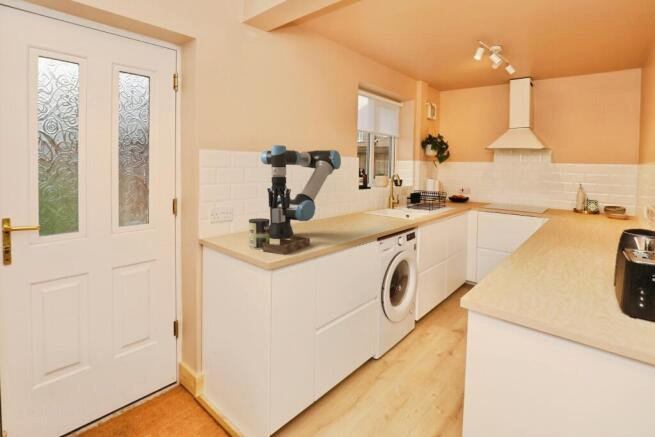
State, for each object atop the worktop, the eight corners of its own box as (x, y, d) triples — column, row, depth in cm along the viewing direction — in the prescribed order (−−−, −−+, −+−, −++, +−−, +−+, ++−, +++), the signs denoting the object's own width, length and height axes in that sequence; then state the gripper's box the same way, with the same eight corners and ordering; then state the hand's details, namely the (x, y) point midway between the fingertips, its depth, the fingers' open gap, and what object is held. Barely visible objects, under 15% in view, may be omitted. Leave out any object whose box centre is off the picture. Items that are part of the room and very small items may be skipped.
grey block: (279, 221, 194) (279, 208, 193) (285, 221, 192) (285, 208, 191) (272, 222, 188) (272, 208, 187) (278, 223, 186) (278, 209, 186)
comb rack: (290, 243, 195) (290, 235, 195) (309, 245, 190) (309, 238, 189) (263, 251, 175) (263, 243, 174) (283, 254, 169) (283, 246, 169)
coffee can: (272, 245, 189) (272, 218, 187) (265, 249, 179) (265, 221, 177) (254, 244, 191) (253, 217, 189) (245, 248, 181) (245, 220, 179)
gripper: (261, 175, 188) (261, 220, 191) (288, 176, 180) (288, 223, 183) (269, 175, 194) (270, 219, 198) (296, 176, 186) (296, 221, 190)
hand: (279, 221), depth 190 cm, fingers closed on grey block, 4 cm apart
